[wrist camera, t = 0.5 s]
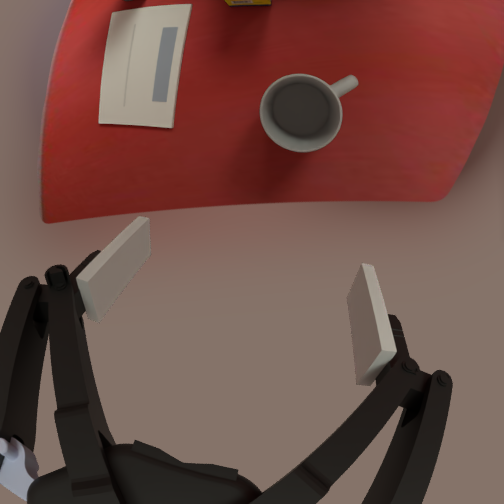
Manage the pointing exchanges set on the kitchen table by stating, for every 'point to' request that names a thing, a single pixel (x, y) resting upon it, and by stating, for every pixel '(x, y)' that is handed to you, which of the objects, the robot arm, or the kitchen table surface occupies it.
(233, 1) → the supplement box
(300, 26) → the kitchen table surface
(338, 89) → the mug
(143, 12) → the paper pad
